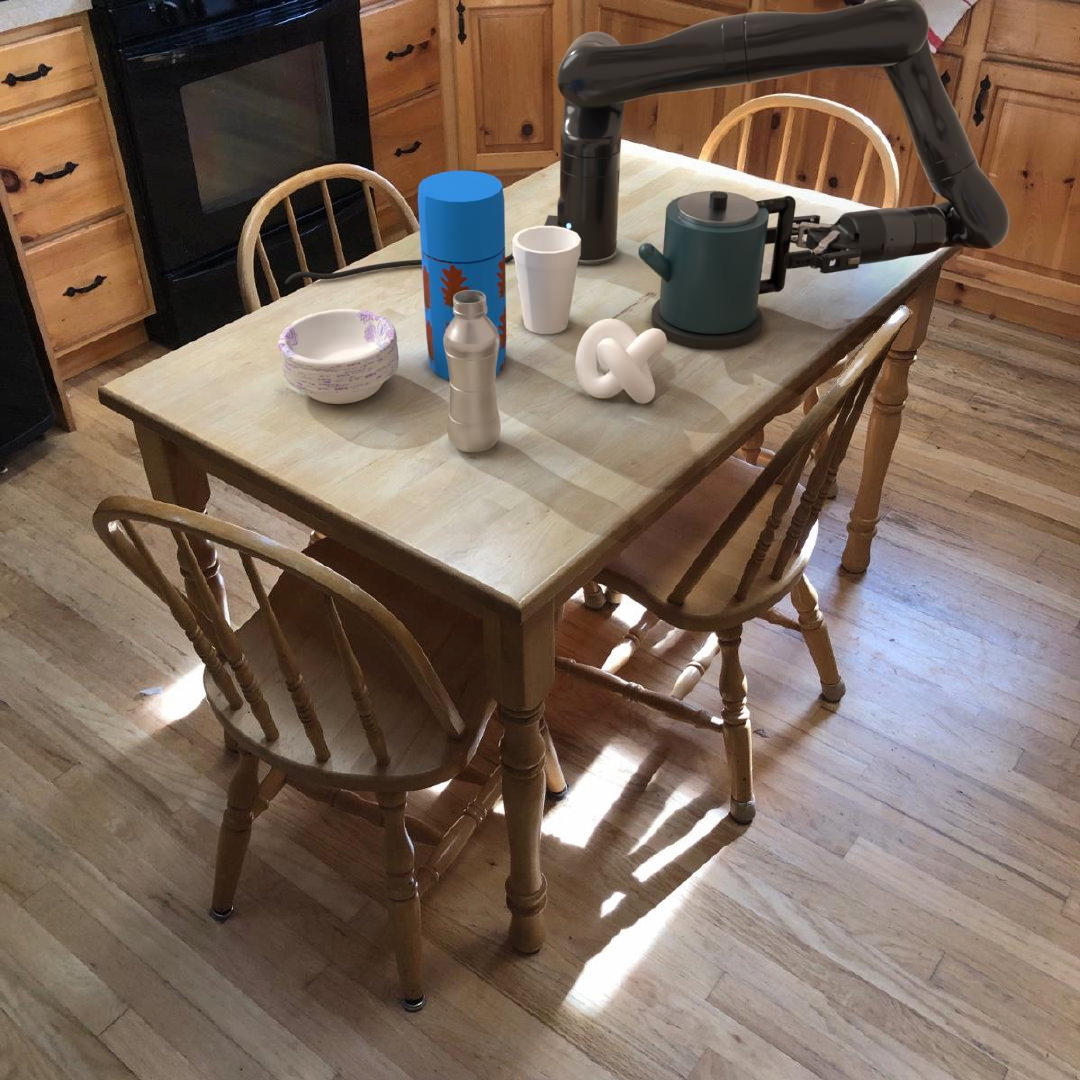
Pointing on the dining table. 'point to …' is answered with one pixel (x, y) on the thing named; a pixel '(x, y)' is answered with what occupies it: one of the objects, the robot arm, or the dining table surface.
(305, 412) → the dining table surface
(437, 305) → the thermos
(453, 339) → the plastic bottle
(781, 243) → the kettle
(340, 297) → the dining table surface
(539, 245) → the foam cup
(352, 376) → the paper bowls
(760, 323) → the kettle base
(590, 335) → the white knot sculpture
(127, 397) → the dining table surface
